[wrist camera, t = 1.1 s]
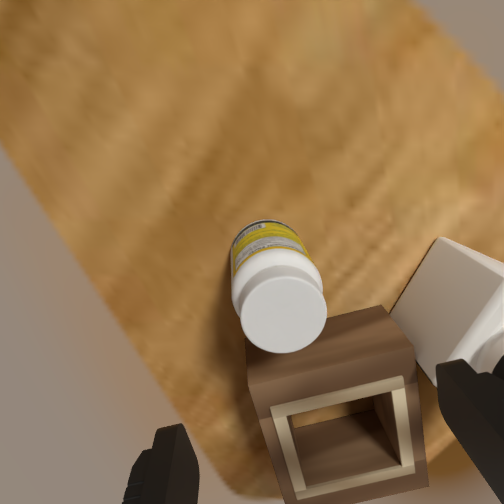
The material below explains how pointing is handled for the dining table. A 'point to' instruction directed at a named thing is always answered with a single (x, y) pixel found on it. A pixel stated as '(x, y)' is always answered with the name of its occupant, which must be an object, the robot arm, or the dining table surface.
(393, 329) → the socket block
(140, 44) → the dining table surface
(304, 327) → the supplement bottle
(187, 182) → the dining table surface
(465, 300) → the medicine bottle
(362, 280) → the dining table surface
